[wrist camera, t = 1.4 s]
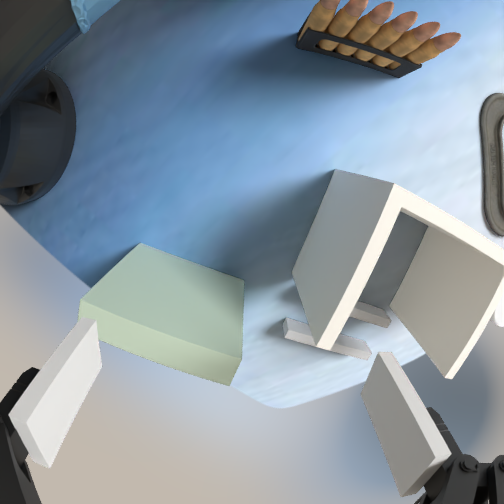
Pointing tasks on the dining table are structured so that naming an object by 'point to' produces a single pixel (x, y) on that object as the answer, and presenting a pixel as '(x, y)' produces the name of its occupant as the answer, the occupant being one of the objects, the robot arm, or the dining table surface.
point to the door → (170, 313)
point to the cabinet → (414, 283)
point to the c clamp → (493, 160)
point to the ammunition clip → (372, 36)
